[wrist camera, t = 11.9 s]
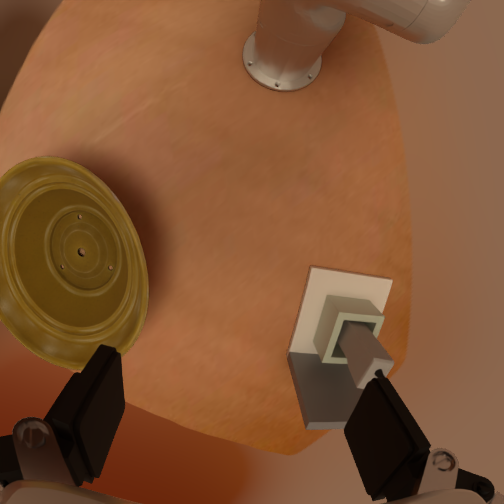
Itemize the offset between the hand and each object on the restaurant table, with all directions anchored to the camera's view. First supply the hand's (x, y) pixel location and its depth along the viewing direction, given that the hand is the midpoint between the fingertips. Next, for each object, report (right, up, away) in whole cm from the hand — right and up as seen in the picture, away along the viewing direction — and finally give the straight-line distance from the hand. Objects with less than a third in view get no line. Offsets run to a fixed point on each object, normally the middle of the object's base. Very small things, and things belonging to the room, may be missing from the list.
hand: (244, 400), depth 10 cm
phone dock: (+16, -7, +42) cm, 46 cm away
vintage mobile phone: (+16, -7, +41) cm, 45 cm away
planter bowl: (-29, +6, +37) cm, 47 cm away
